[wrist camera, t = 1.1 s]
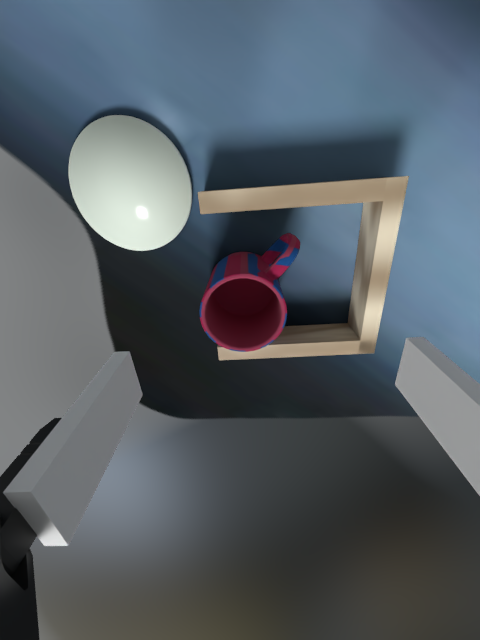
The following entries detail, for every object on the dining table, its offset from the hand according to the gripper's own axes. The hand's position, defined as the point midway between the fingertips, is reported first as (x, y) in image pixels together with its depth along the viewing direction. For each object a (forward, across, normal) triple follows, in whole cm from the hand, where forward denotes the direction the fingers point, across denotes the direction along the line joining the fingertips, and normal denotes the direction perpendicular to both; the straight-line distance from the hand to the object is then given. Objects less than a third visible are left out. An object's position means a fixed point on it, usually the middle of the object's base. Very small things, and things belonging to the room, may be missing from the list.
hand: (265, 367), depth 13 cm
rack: (+14, +3, 0) cm, 15 cm away
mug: (+15, 0, 0) cm, 15 cm away
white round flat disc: (+14, -10, +8) cm, 19 cm away
